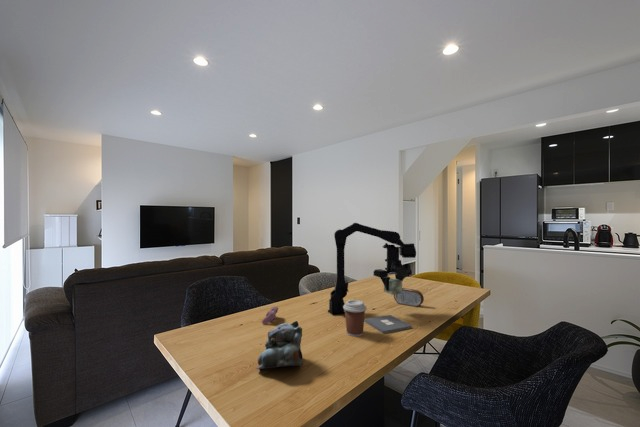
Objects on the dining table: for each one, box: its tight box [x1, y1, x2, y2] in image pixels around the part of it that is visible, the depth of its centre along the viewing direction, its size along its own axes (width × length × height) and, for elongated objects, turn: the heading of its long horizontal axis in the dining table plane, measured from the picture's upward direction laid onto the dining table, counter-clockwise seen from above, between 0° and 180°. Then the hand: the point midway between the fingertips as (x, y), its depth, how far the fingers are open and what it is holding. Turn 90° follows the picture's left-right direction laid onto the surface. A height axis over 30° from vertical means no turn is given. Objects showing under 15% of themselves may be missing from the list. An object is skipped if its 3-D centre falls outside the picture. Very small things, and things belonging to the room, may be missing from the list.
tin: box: [393, 287, 425, 308], centre depth 143 cm, size 15×3×8 cm, turn 58°
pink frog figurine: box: [261, 306, 279, 325], centre depth 121 cm, size 10×5×7 cm, turn 179°
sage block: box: [383, 277, 403, 296], centre depth 131 cm, size 6×6×6 cm
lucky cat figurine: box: [256, 320, 304, 371], centre depth 85 cm, size 15×12×14 cm
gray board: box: [364, 314, 413, 334], centre depth 116 cm, size 14×14×1 cm
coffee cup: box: [343, 299, 367, 337], centre depth 108 cm, size 9×9×12 cm
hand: (392, 290), depth 131 cm, fingers closed on sage block, 6 cm apart
